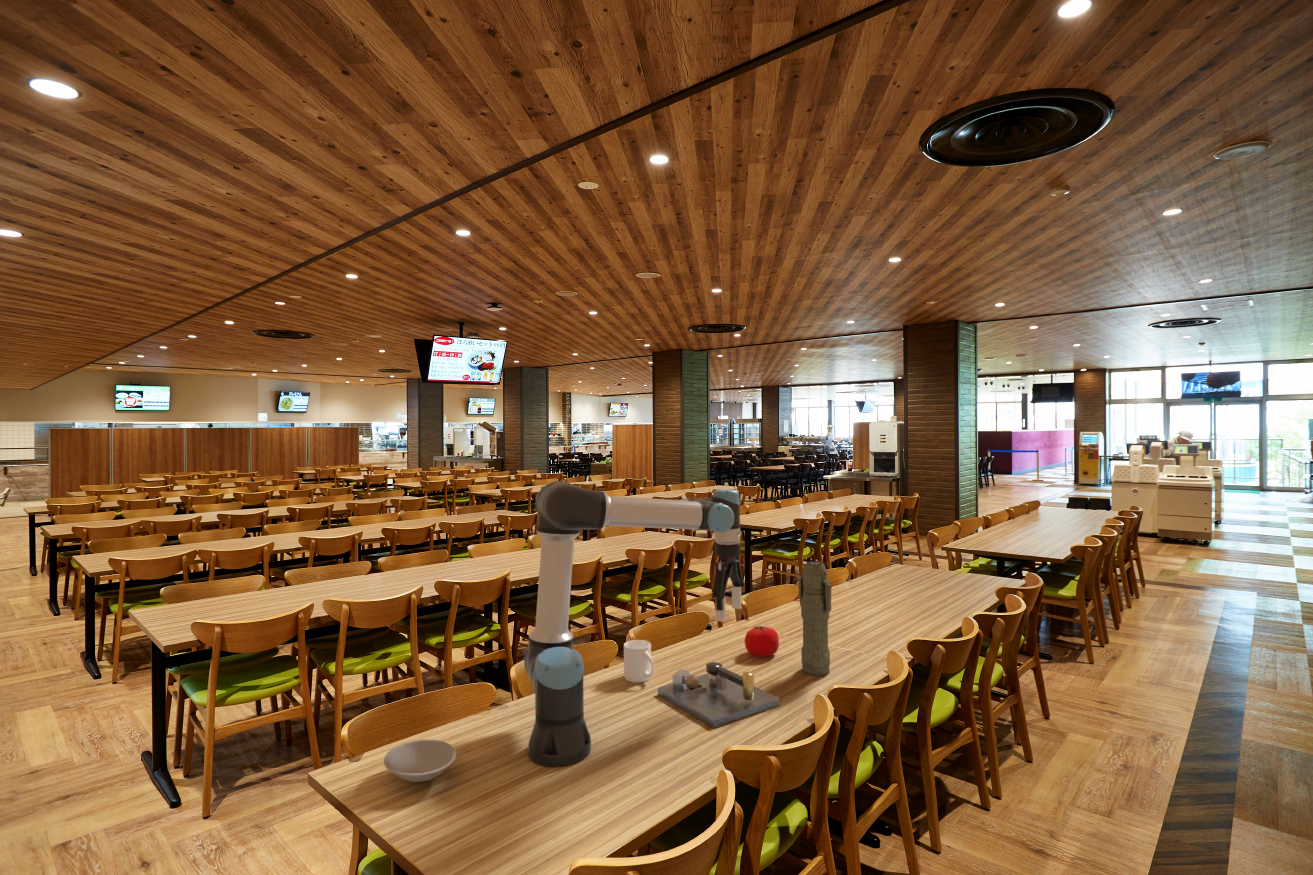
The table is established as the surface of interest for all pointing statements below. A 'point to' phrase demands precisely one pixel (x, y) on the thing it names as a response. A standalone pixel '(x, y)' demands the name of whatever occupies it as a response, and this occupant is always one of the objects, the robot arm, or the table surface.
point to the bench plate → (715, 699)
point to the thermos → (815, 618)
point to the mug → (637, 661)
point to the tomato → (761, 641)
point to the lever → (732, 679)
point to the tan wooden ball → (692, 681)
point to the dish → (420, 759)
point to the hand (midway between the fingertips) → (729, 614)
